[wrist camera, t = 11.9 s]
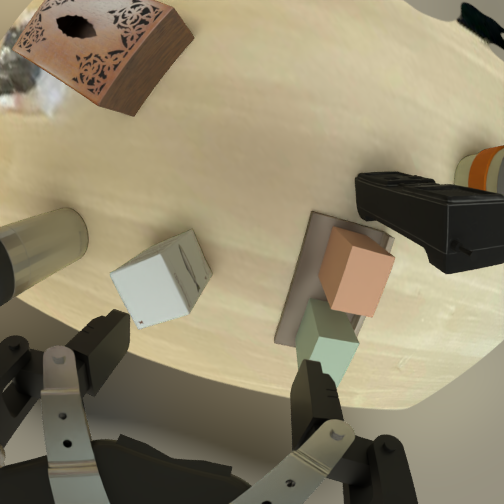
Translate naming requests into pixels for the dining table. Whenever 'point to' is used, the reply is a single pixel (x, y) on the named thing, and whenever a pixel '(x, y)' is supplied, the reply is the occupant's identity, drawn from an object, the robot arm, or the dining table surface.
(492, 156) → the reusable coffee cup
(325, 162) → the dining table surface
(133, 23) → the tissue box cover
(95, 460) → the robot arm
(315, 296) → the shallow tray
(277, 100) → the dining table surface
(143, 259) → the supplement box
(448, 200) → the portable radio
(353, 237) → the terracotta tin
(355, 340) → the tea tin
